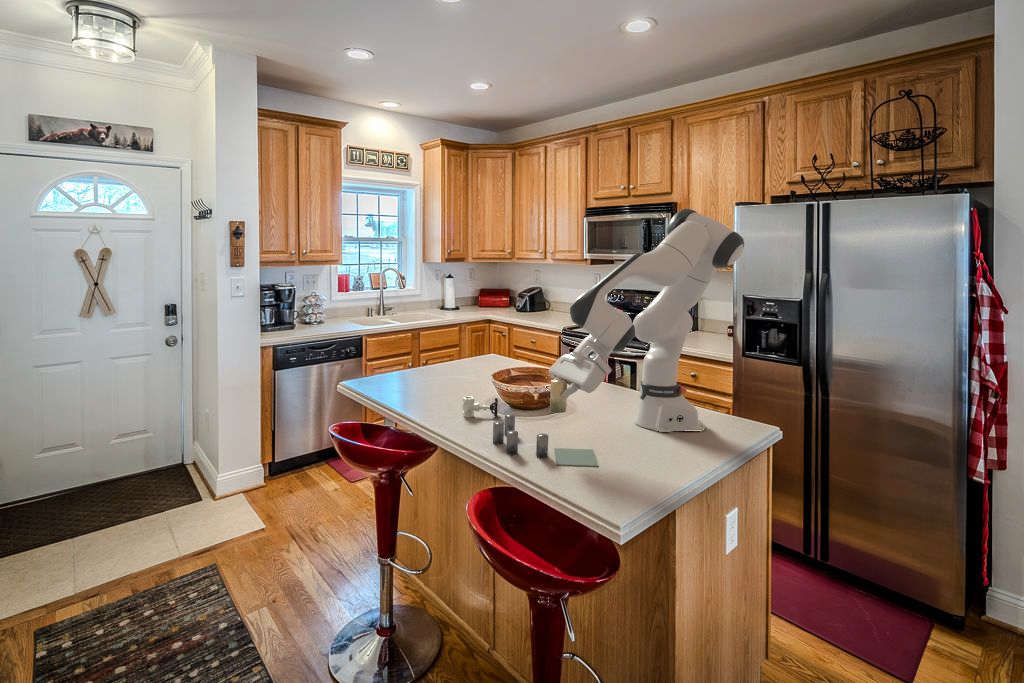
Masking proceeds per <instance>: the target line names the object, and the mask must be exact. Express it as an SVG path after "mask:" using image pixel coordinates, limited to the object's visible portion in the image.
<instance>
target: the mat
mask: <svg viewBox="0 0 1024 683" xmlns="http://www.w3.org/2000/svg"><path fill="white" fill-rule="evenodd" d="M554 450H555V451H554ZM553 451H554V456H555V457H556V458H555V464H557V465H556V466H562V465H568V466H569V465H570V466H569V467H591V466H592V467H593V466H595V467H596V468H597V467H599V464H598V461H597V458H596V455H595V452H594V449H591V448H590V449H588V448H562V447H561V448H560V447H559V448H558V447H555V448H553ZM593 468H594V467H593Z"/></svg>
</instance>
